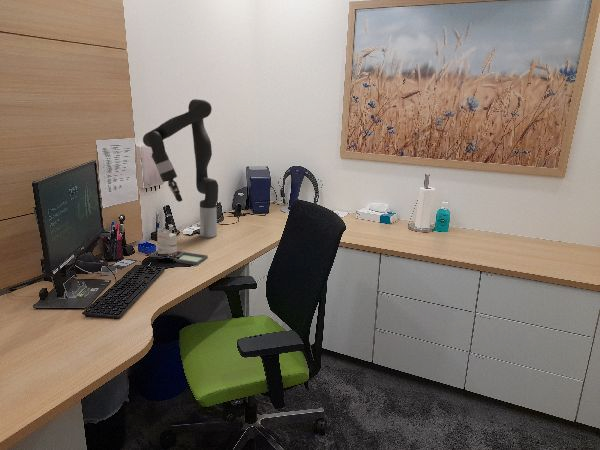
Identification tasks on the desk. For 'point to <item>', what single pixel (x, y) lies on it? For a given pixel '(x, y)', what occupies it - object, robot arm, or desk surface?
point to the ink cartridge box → (166, 242)
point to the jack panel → (186, 257)
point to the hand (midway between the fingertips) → (179, 200)
